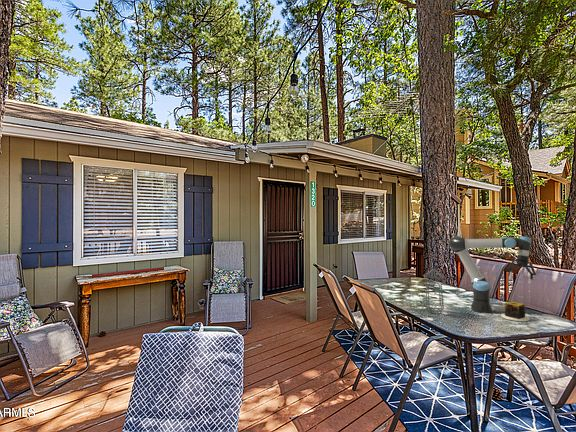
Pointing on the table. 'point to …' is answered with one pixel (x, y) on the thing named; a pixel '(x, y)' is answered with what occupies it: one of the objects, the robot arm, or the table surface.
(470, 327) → the table surface
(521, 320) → the saucer
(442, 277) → the geometric lantern
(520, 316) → the mossy brown cube
